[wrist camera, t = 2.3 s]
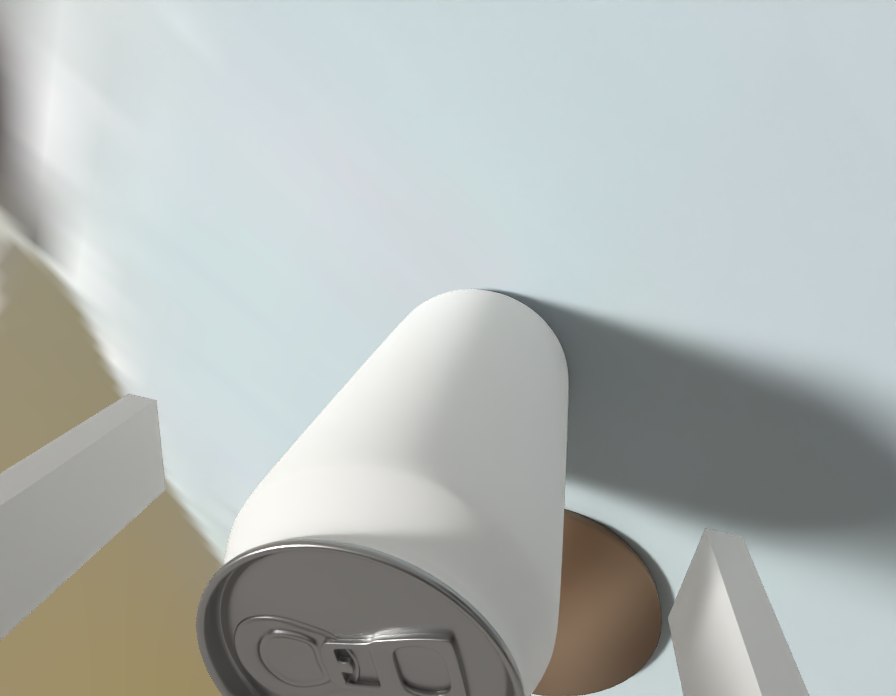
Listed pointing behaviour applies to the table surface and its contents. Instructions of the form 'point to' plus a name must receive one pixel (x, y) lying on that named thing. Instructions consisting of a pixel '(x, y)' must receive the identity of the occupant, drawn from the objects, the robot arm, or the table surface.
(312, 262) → the table surface
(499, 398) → the can
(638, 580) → the coaster
